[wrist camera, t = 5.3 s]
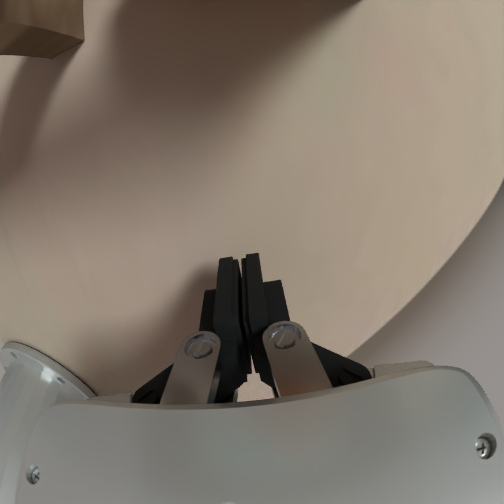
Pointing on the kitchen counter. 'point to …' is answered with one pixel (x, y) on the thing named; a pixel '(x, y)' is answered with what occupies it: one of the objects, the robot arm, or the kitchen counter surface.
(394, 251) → the kitchen counter surface
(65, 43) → the bridge
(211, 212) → the kitchen counter surface
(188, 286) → the kitchen counter surface
